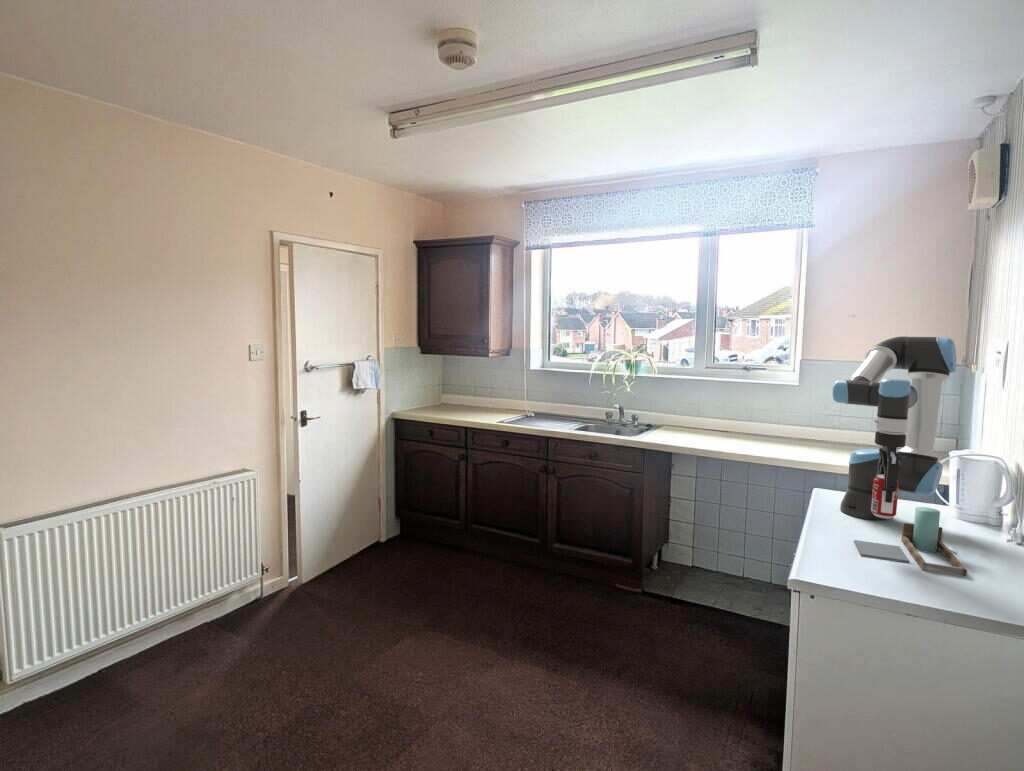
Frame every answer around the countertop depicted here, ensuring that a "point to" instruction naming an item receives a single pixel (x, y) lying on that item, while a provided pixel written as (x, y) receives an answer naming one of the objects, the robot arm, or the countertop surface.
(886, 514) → the beverage can
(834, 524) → the countertop surface
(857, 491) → the robot arm
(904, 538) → the dispenser rack
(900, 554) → the coaster
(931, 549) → the can
